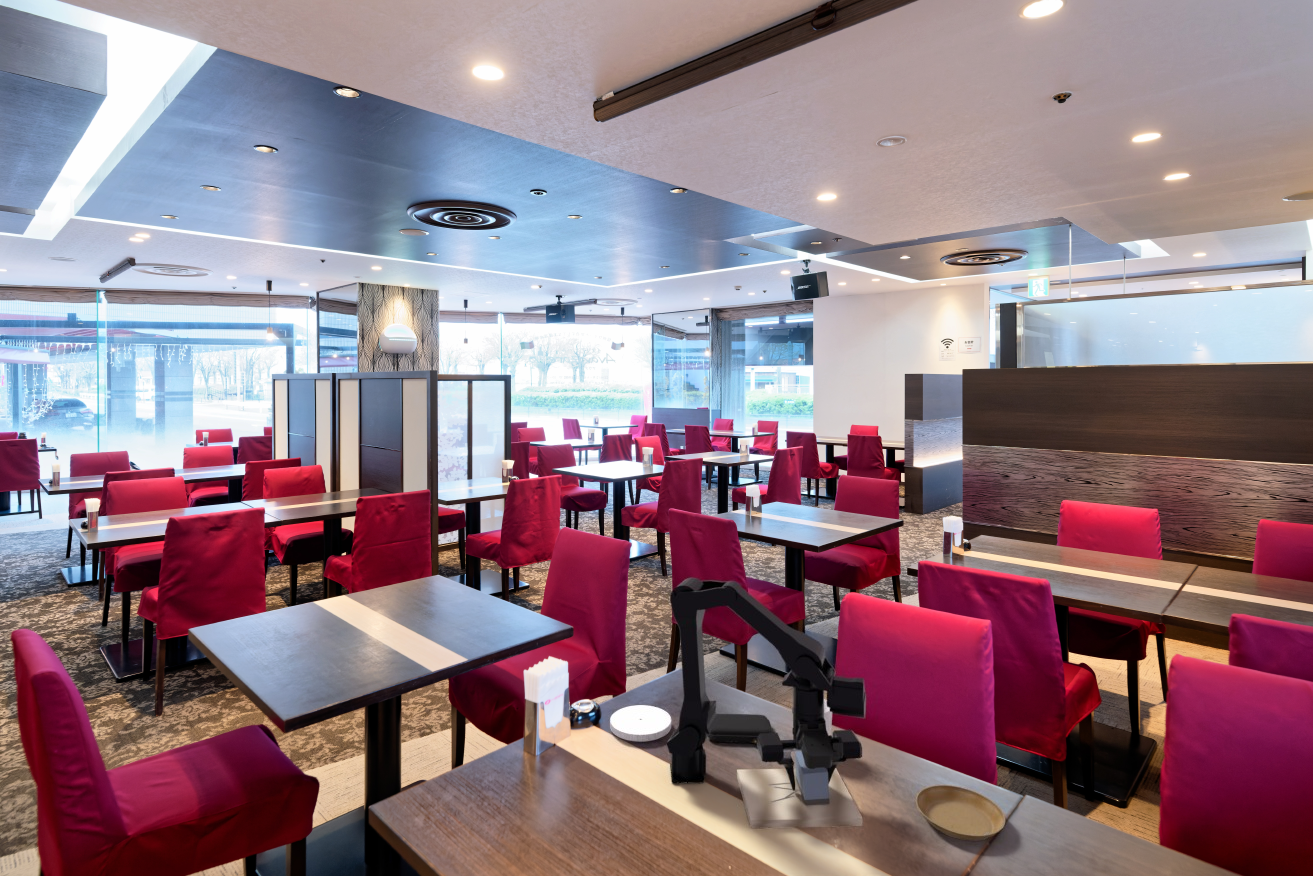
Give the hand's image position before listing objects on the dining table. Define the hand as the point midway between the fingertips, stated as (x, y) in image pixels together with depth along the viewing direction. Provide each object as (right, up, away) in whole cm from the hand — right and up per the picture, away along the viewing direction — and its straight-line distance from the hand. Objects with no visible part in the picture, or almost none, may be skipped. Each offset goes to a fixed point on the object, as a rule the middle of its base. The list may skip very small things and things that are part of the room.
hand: (809, 788), depth 128 cm
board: (-2, -2, 0) cm, 3 cm away
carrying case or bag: (-10, -1, +25) cm, 27 cm away
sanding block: (+1, -1, 0) cm, 1 cm away
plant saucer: (+26, -3, -6) cm, 27 cm away
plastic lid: (-32, -1, +27) cm, 42 cm away
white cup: (+5, -1, +18) cm, 19 cm away
